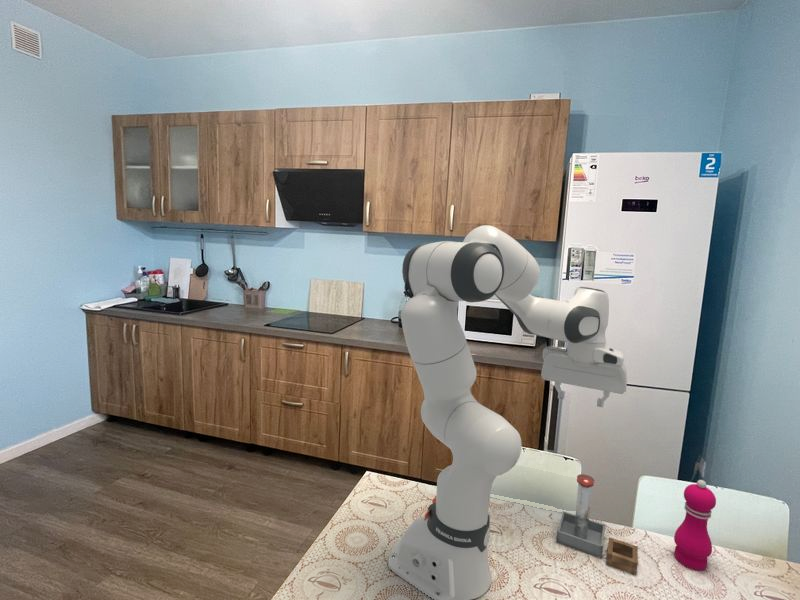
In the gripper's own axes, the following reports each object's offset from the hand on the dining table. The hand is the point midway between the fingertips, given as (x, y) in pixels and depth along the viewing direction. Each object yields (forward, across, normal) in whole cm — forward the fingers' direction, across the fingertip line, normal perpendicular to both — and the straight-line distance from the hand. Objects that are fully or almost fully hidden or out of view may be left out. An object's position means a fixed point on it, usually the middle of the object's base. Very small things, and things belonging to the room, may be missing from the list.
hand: (580, 402), depth 110 cm
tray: (+31, +4, -10) cm, 33 cm away
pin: (+30, +4, -10) cm, 32 cm away
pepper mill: (+31, +27, -4) cm, 41 cm away
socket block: (+31, +13, -13) cm, 36 cm away
